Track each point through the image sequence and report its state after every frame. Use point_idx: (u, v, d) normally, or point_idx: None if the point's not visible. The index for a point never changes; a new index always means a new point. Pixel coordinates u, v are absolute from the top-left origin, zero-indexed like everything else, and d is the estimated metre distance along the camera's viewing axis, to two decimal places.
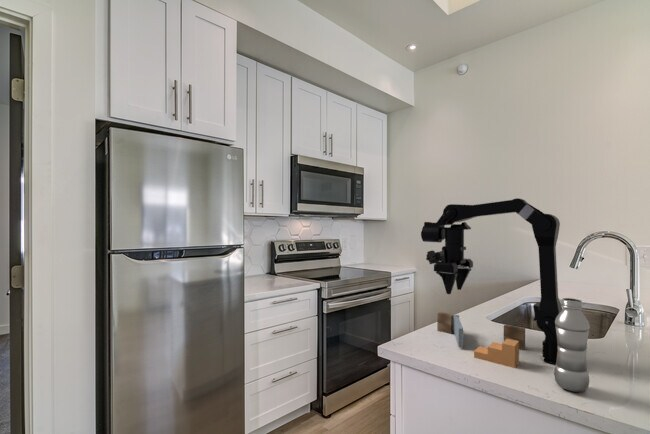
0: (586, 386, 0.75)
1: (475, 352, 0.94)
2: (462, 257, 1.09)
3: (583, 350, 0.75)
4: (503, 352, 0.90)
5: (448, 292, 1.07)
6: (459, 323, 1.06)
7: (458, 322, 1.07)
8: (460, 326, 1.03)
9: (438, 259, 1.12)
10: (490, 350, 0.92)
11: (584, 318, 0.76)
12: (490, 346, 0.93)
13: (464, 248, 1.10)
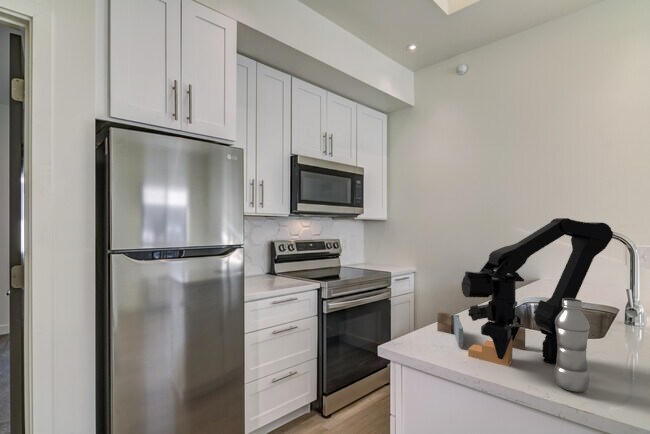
0: (586, 386, 0.75)
1: (469, 350, 0.95)
2: (514, 315, 0.90)
3: (583, 350, 0.75)
4: None
5: (500, 357, 0.90)
6: (459, 323, 1.06)
7: (458, 322, 1.07)
8: (460, 326, 1.03)
9: (483, 316, 0.93)
10: (484, 348, 0.93)
11: (584, 318, 0.76)
12: (484, 344, 0.94)
13: (516, 304, 0.91)
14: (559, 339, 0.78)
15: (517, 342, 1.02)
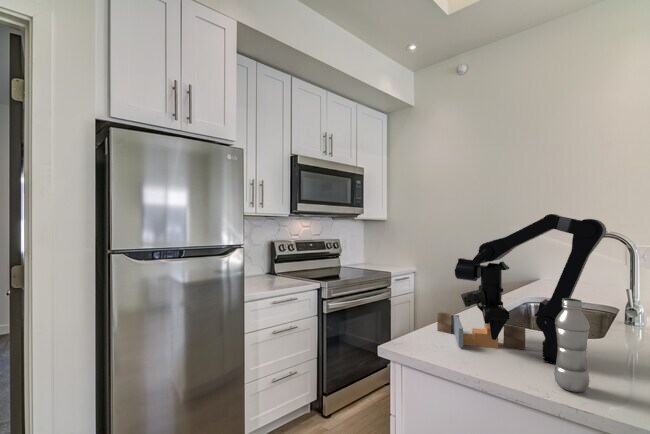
0: (586, 386, 0.75)
1: (463, 339, 1.05)
2: (501, 298, 1.04)
3: (583, 350, 0.75)
4: (488, 335, 1.03)
5: (494, 338, 1.00)
6: (459, 323, 1.06)
7: (458, 322, 1.07)
8: (460, 326, 1.03)
9: None
10: (477, 335, 1.04)
11: (584, 318, 0.76)
12: (475, 332, 1.05)
13: None
14: (559, 339, 0.78)
15: (517, 342, 1.02)
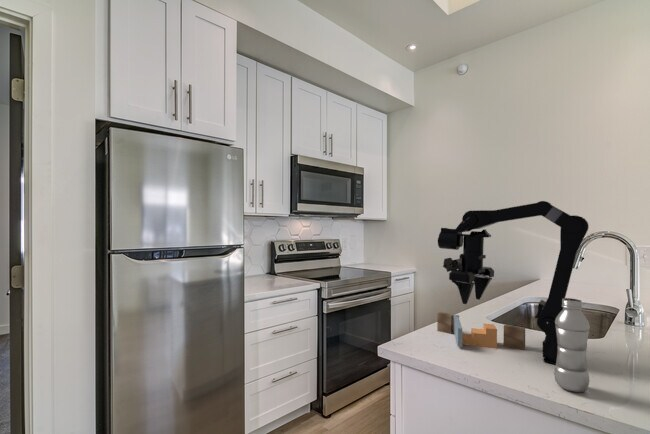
0: (586, 386, 0.75)
1: (462, 339, 1.05)
2: (481, 266, 1.04)
3: (583, 350, 0.75)
4: (487, 335, 1.03)
5: (464, 302, 1.03)
6: (458, 323, 1.06)
7: (458, 322, 1.07)
8: (459, 326, 1.03)
9: (455, 267, 1.08)
10: (476, 335, 1.04)
11: (584, 318, 0.76)
12: (474, 332, 1.05)
13: (483, 257, 1.05)
14: (559, 339, 0.78)
15: (517, 342, 1.02)
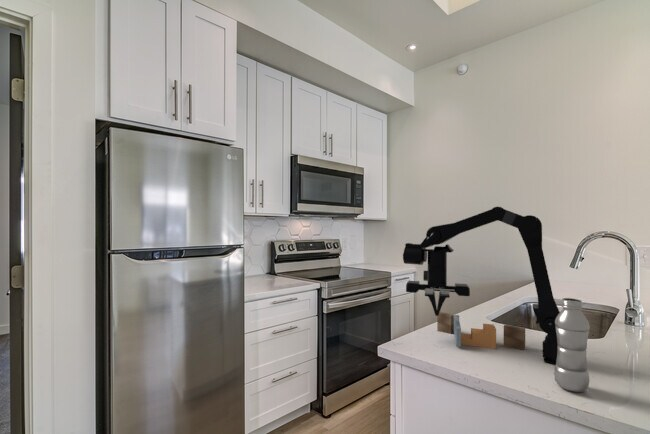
0: (586, 386, 0.75)
1: (461, 339, 1.05)
2: (435, 280, 1.06)
3: (583, 350, 0.75)
4: (486, 335, 1.03)
5: (435, 313, 1.08)
6: (457, 323, 1.06)
7: (457, 322, 1.07)
8: (458, 326, 1.03)
9: None
10: (475, 335, 1.04)
11: (584, 318, 0.76)
12: (473, 332, 1.05)
13: (440, 272, 1.05)
14: (559, 339, 0.78)
15: (517, 342, 1.02)
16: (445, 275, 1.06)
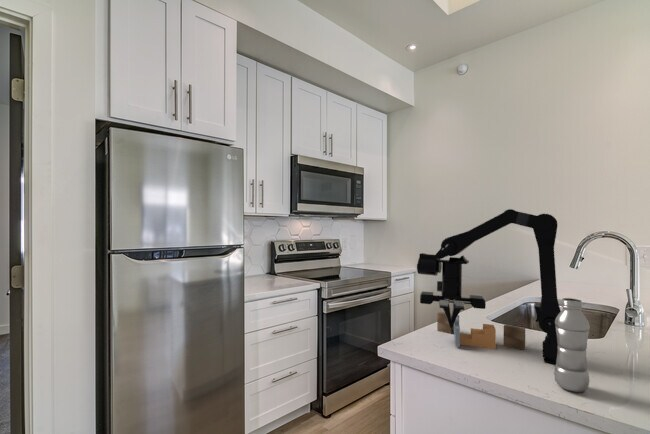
0: (586, 386, 0.75)
1: (460, 339, 1.05)
2: (450, 292, 1.05)
3: (583, 350, 0.75)
4: (485, 335, 1.02)
5: None
6: (457, 323, 1.06)
7: (456, 322, 1.07)
8: (457, 326, 1.03)
9: None
10: (474, 336, 1.03)
11: (584, 318, 0.76)
12: (473, 332, 1.04)
13: (455, 284, 1.04)
14: (559, 339, 0.78)
15: (517, 342, 1.02)
16: (460, 287, 1.05)
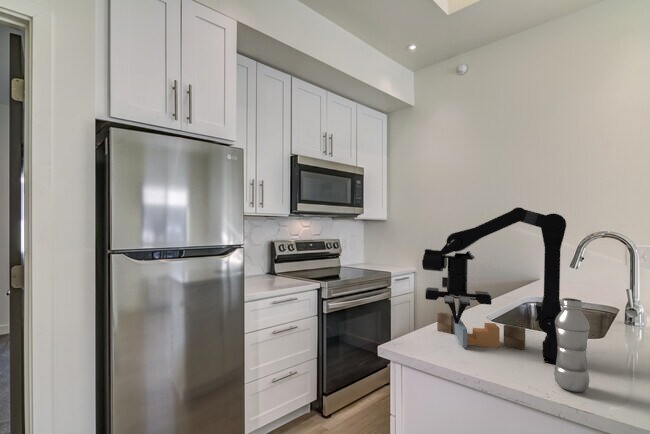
0: (586, 386, 0.75)
1: None
2: (456, 288, 1.04)
3: (583, 350, 0.75)
4: (489, 334, 1.03)
5: None
6: (461, 323, 1.06)
7: (460, 322, 1.07)
8: (463, 326, 1.03)
9: None
10: (479, 335, 1.04)
11: (584, 318, 0.76)
12: (477, 331, 1.05)
13: (461, 279, 1.03)
14: (559, 339, 0.78)
15: (517, 342, 1.02)
16: (466, 282, 1.05)
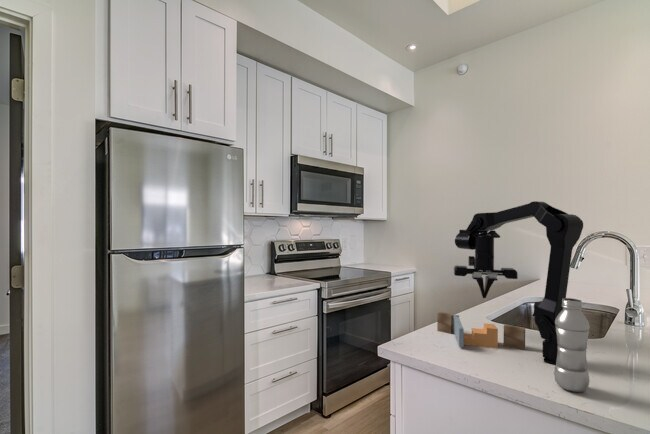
0: (586, 386, 0.75)
1: None
2: (483, 264, 1.12)
3: (583, 350, 0.75)
4: (487, 335, 1.03)
5: (482, 296, 1.14)
6: (459, 323, 1.06)
7: (458, 322, 1.07)
8: (460, 326, 1.03)
9: (474, 265, 1.19)
10: (476, 335, 1.04)
11: (584, 318, 0.76)
12: (475, 332, 1.05)
13: (489, 256, 1.11)
14: (559, 339, 0.78)
15: (517, 342, 1.02)
16: (493, 259, 1.12)
